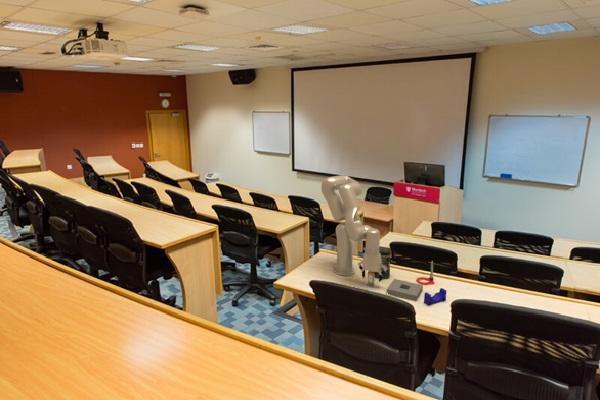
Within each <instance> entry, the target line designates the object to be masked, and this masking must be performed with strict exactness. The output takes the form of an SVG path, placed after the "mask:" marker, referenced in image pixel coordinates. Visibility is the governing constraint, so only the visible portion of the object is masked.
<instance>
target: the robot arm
mask: <svg viewBox="0 0 600 400" xmlns="http://www.w3.org/2000/svg"><path fill="white" fill-rule="evenodd" d="M320 186H321V189H320V190H321V193H322V195H323V197H324V199H325V200H326V202H327V205H328V208H329V210H330V213H331V216H332V217H333V220H334V221H336V222H340V223H338V225H336V228H335V234H336V262H333V261H332V262H331V263H330V265H331V268H332V267H333V268H334V273H335V274H336V275H339V276H345V277H346V276H352V275H354V274H355V271H356V269H355V267H353V264H354V263H353V261H354V260H353V259H354V256H353V255H354V244H353V242H359V241H362V240H365V247H364V246H363V247H362V249H363V251H364V252H363V257H362V261H359V262H357V266H358V269H359V270H360V272H361V278H362V279H365V278H366V271H367V272H368V271H373V272H378V273H379V274H380V275H379V278H378V282H379V283H380V282H382V281H383V279H384V278H383V274H384V273H385V272H386V270H387V269H388V268H387V267H386V266H384V265H383V264H382V260H381V254H380V253H379V246H380V244H381V242H380V241H381V240H380V239H381V238H380V237H381V232H380V230H379V229H378V228H374V227H372V226H370V225H368V224H364V225H363V222H362V220H361V217H360V214H359V212H358V211H360V210H361V205H360V201H359V200H358V197H359V196H361V194H362V193H363V188H362V186H361V184H360V183H359V182H358V181H356V180H355V179H353V178H351V177H349V176H348V175H344V174H342V175H335V176H329V177H326V178H325V179H324V180H322V182H321V185H320ZM336 191H338V193H337V192H336ZM342 221H343V222H342ZM381 268H383V269H384V271H382V270H381Z"/></svg>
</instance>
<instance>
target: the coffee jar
mask: <svg viewBox="0 0 600 400" xmlns="http://www.w3.org/2000/svg"><path fill="white" fill-rule="evenodd" d="M379 253H380V254H381V260H382V264H383V265H384V266H386V267H387V268H388V269H387V270H386V272H385V273H384V274H383V278H382V279H383V280H384V279H389V278H390V276H391V265H390V264H391V263H390V262H391V256H392V249H391V247H388V246H379ZM381 270H382V271H384V269H383V268H381ZM379 275H380V274H379V273H378V272H375V273H374V278H375V277H376V278H378V279H379Z"/></svg>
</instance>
